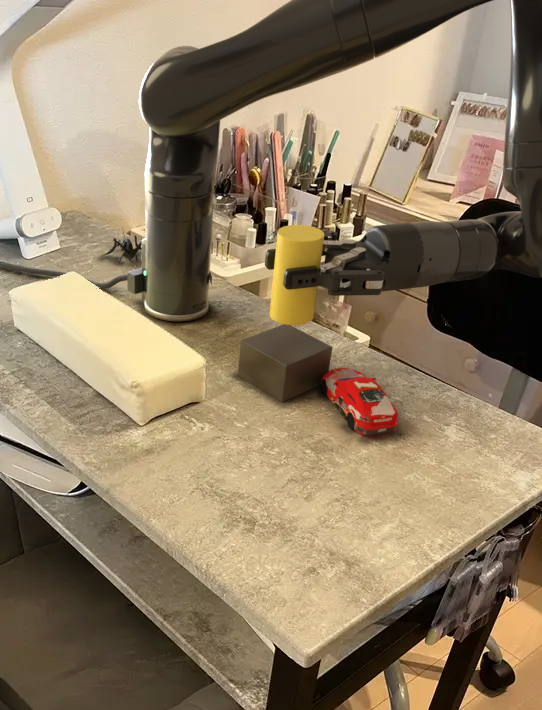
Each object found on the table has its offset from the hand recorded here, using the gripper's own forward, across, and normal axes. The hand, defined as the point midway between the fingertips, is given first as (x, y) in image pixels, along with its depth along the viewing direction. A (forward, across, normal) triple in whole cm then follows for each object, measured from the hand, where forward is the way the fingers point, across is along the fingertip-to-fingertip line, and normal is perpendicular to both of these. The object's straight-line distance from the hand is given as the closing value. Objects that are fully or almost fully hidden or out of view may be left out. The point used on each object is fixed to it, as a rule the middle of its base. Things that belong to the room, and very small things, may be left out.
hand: (275, 269), depth 88 cm
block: (-2, 0, +15) cm, 15 cm away
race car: (-8, +9, +15) cm, 19 cm away
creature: (+8, -43, +15) cm, 46 cm away
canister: (-3, 0, +6) cm, 7 cm away
